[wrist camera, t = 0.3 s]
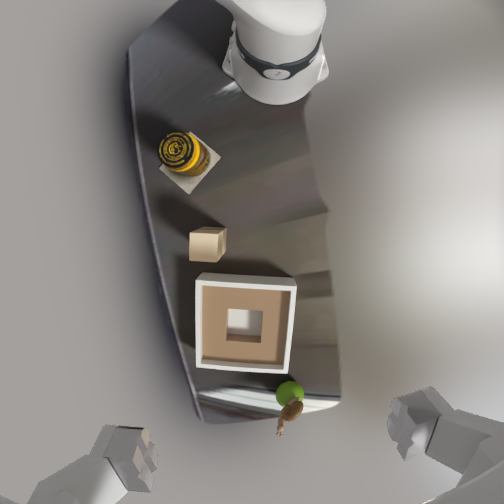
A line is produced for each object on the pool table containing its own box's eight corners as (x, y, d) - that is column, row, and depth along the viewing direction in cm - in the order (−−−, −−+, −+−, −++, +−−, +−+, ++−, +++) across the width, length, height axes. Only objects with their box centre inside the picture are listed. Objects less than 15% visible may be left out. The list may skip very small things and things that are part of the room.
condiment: (221, 157, 51) (208, 145, 39) (189, 194, 53) (167, 193, 41) (190, 131, 51) (170, 114, 39) (159, 168, 52) (132, 160, 40)
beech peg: (203, 226, 53) (189, 232, 43) (226, 227, 53) (217, 234, 43) (202, 249, 54) (189, 260, 44) (225, 251, 54) (216, 262, 44)
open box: (202, 272, 55) (195, 279, 49) (293, 277, 54) (296, 286, 49) (201, 353, 57) (196, 367, 52) (285, 358, 57) (287, 373, 51)
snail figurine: (266, 391, 58) (266, 429, 46) (288, 371, 57) (292, 407, 45) (286, 404, 58) (289, 442, 47) (308, 385, 57) (315, 422, 46)
